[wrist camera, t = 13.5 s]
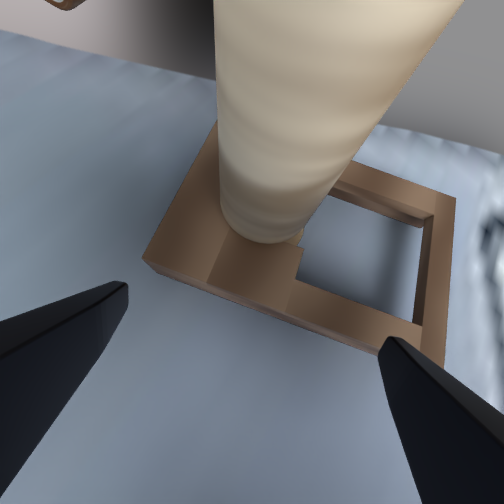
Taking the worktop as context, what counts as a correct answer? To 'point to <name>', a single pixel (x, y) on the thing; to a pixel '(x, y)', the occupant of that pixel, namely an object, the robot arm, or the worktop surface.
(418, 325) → the brown rectangular frame
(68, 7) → the tin
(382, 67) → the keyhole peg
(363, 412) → the worktop surface
